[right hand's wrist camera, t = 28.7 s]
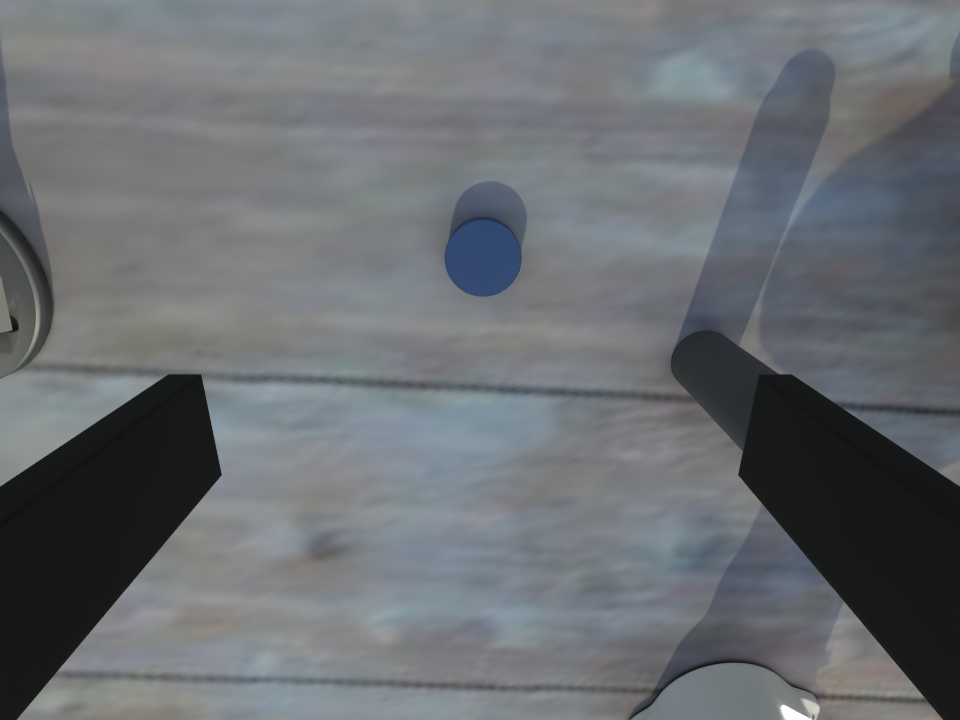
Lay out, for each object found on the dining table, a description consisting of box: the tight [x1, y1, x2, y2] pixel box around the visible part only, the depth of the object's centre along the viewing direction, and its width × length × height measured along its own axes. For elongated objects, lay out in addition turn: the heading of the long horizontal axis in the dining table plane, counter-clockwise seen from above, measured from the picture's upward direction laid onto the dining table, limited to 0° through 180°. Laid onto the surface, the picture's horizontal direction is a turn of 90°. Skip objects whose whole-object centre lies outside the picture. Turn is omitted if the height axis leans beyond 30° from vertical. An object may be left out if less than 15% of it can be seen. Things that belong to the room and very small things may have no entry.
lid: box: [445, 217, 521, 297], centre depth 36 cm, size 5×5×2 cm
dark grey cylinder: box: [671, 331, 778, 451], centre depth 32 cm, size 5×5×15 cm
